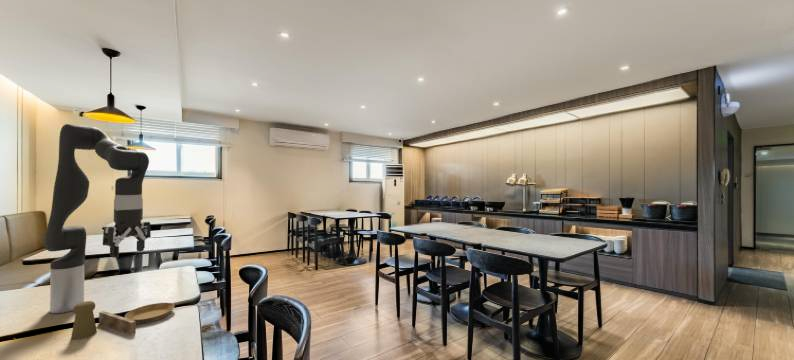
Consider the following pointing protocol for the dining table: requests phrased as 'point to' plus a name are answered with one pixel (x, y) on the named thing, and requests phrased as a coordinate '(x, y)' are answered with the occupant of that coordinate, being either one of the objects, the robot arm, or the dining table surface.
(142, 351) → the dining table surface
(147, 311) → the plant saucer
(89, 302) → the tan tall tapered piece
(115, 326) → the walnut divider wall
